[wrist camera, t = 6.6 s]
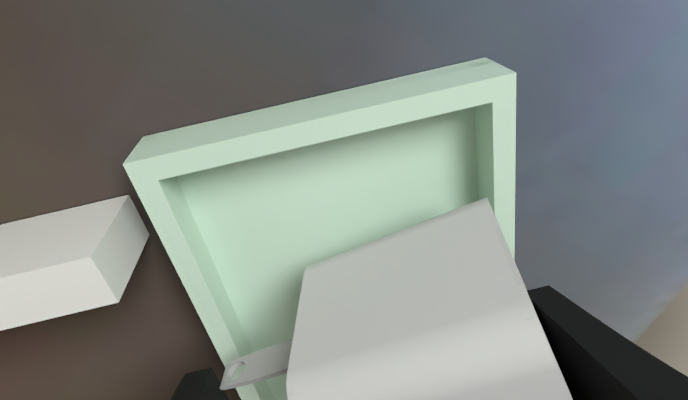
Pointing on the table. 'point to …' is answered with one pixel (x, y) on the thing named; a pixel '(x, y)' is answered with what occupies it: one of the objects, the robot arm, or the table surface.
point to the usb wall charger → (415, 322)
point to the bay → (68, 260)
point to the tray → (319, 190)
